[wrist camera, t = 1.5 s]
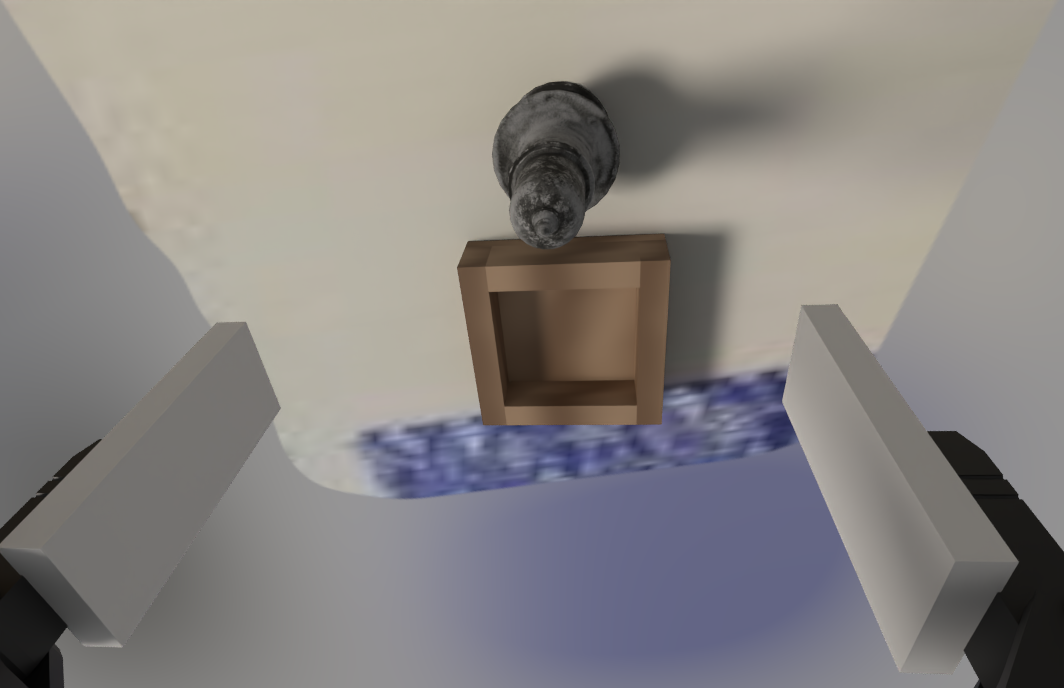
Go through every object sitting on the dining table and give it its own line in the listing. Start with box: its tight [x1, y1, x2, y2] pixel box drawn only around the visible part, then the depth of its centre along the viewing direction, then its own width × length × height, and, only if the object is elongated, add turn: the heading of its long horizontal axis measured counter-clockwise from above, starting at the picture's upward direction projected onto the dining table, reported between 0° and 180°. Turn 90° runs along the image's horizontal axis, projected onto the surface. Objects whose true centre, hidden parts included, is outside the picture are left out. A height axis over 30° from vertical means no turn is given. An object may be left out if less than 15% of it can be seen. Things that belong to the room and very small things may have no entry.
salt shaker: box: [492, 82, 620, 249], centre depth 25 cm, size 6×6×12 cm
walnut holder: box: [457, 234, 671, 425], centre depth 35 cm, size 11×11×3 cm
